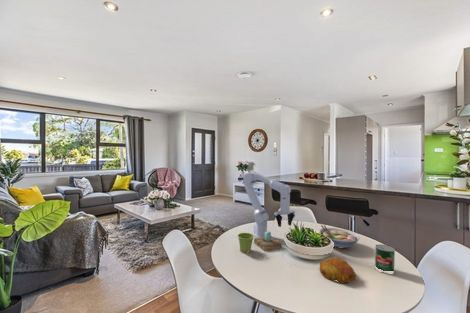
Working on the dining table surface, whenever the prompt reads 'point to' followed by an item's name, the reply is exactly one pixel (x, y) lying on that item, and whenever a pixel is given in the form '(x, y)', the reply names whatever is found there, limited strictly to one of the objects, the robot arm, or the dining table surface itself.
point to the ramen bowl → (340, 236)
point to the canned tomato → (384, 257)
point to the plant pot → (245, 241)
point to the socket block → (269, 245)
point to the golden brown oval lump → (337, 270)
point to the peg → (267, 236)
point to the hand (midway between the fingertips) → (284, 225)
